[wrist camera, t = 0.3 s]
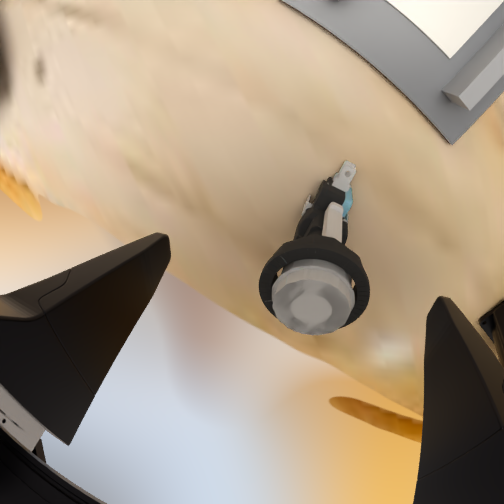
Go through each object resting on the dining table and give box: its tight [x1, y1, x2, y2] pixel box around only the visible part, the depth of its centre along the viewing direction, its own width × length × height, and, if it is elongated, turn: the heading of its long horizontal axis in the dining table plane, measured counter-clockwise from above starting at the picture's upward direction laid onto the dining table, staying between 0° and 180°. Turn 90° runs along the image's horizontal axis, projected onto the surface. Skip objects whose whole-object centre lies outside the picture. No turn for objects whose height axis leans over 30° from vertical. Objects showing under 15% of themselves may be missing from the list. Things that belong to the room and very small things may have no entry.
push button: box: [259, 160, 370, 335], centre depth 17 cm, size 7×5×10 cm
